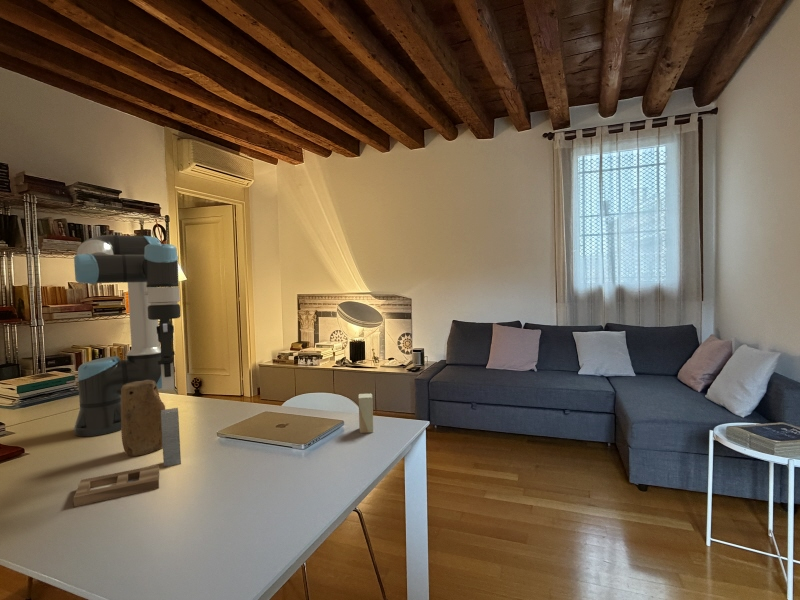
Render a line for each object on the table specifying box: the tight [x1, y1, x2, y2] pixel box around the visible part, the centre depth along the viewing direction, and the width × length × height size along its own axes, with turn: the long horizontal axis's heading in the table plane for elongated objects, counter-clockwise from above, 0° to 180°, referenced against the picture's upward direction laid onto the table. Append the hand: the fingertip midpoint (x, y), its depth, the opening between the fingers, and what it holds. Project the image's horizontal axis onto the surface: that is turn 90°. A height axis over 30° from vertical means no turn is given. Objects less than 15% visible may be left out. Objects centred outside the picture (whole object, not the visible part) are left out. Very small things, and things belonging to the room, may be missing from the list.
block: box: [120, 380, 166, 457], centre depth 126 cm, size 11×8×20 cm
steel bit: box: [161, 407, 182, 468], centre depth 116 cm, size 4×4×14 cm
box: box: [358, 393, 374, 434], centre depth 137 cm, size 5×4×11 cm
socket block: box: [73, 464, 160, 508], centre depth 103 cm, size 10×16×2 cm, turn 118°
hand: (168, 384), depth 116 cm, fingers open, 13 cm apart
